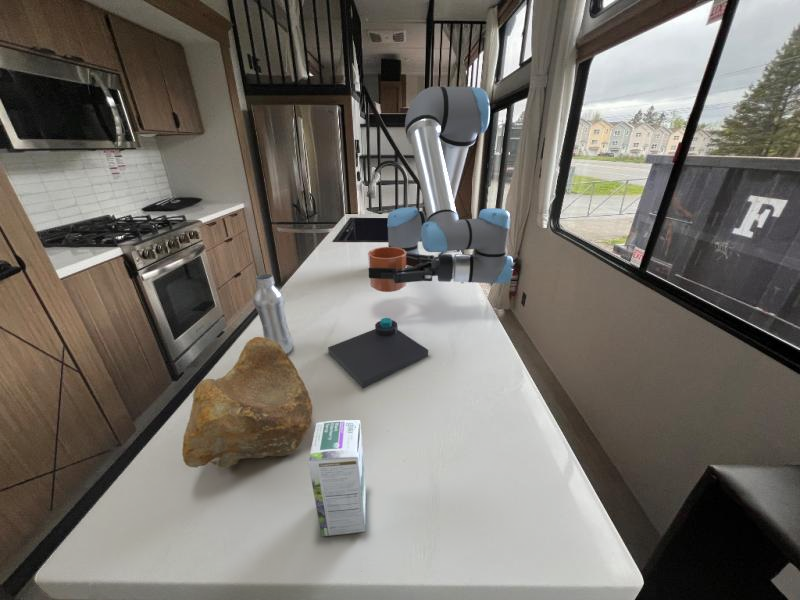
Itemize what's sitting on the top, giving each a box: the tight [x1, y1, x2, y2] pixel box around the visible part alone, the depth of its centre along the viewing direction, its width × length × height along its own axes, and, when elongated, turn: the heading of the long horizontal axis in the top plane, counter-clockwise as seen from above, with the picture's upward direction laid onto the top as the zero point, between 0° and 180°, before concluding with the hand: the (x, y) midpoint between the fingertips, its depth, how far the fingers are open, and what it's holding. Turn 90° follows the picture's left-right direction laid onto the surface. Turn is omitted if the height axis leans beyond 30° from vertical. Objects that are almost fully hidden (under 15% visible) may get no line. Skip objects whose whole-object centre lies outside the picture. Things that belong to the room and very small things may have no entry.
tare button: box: [380, 317, 393, 329], centre depth 83 cm, size 3×3×2 cm
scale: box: [327, 319, 429, 390], centre depth 77 cm, size 18×16×4 cm
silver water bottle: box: [252, 273, 294, 355], centre depth 75 cm, size 6×7×20 cm
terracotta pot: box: [367, 246, 408, 293], centre depth 91 cm, size 10×10×10 cm
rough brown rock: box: [181, 336, 313, 470], centre depth 54 cm, size 23×17×15 cm
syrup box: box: [307, 419, 367, 537], centre depth 41 cm, size 6×6×14 cm
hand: (373, 265), depth 91 cm, fingers closed on terracotta pot, 10 cm apart
